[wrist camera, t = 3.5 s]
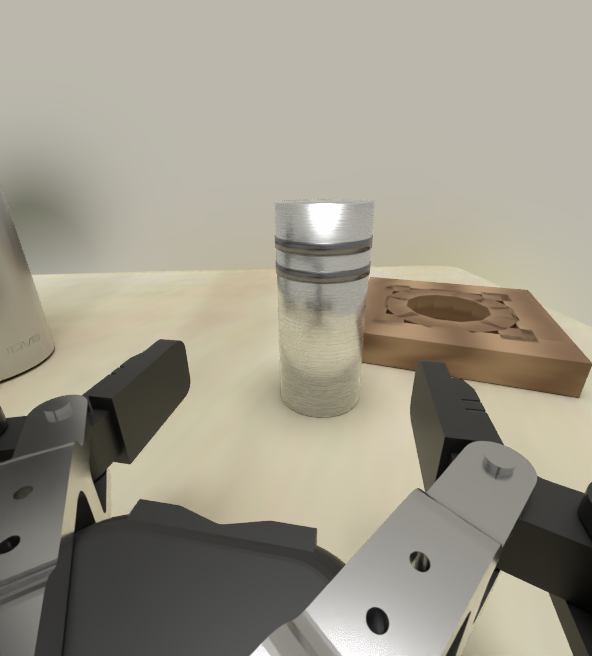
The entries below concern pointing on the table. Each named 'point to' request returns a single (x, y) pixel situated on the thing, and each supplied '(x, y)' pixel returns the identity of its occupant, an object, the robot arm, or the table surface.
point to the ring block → (471, 334)
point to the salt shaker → (322, 301)
